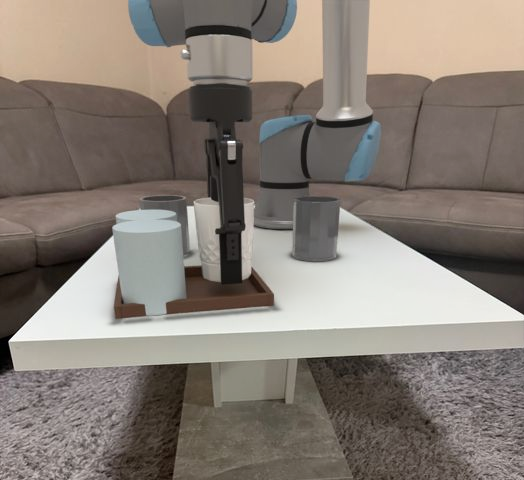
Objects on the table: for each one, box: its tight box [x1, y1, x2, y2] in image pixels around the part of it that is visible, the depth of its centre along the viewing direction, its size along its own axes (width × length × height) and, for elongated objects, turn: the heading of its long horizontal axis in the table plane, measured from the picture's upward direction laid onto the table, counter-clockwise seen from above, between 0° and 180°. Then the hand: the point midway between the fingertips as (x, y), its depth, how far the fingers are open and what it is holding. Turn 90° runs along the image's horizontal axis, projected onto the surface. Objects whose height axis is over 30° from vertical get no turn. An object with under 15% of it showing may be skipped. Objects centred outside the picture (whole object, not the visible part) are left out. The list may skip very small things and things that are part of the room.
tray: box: [113, 264, 275, 320], centre depth 63 cm, size 20×16×2 cm
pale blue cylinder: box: [111, 219, 187, 317], centre depth 56 cm, size 8×8×10 cm
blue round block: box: [115, 209, 177, 224], centre depth 63 cm, size 8×8×10 cm
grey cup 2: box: [291, 195, 341, 263], centre depth 81 cm, size 8×8×10 cm
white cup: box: [193, 197, 255, 282], centre depth 61 cm, size 8×8×10 cm
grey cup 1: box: [139, 194, 191, 256], centre depth 82 cm, size 8×8×10 cm
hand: (226, 274), depth 63 cm, fingers closed on white cup, 8 cm apart
